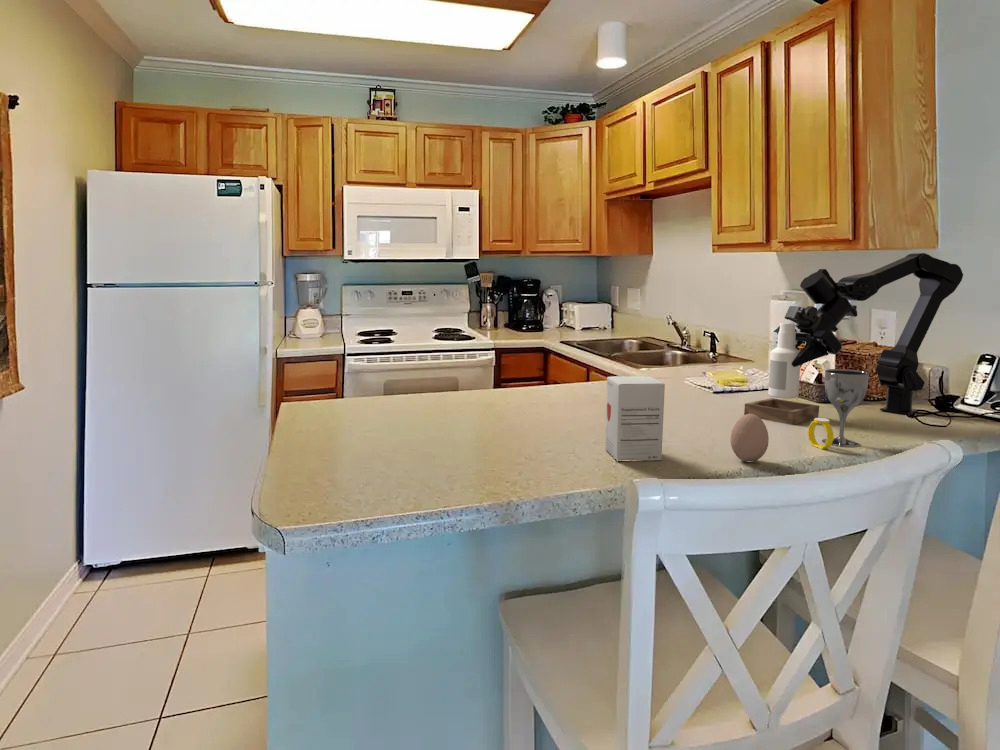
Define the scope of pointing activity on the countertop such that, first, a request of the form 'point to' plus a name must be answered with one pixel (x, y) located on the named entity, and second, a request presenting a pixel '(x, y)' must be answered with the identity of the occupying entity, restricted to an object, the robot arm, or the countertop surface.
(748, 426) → the egg
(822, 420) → the watch
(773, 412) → the collar
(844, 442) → the wine glass
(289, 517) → the countertop surface
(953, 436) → the countertop surface
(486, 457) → the countertop surface
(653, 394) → the supplement box
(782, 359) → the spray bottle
